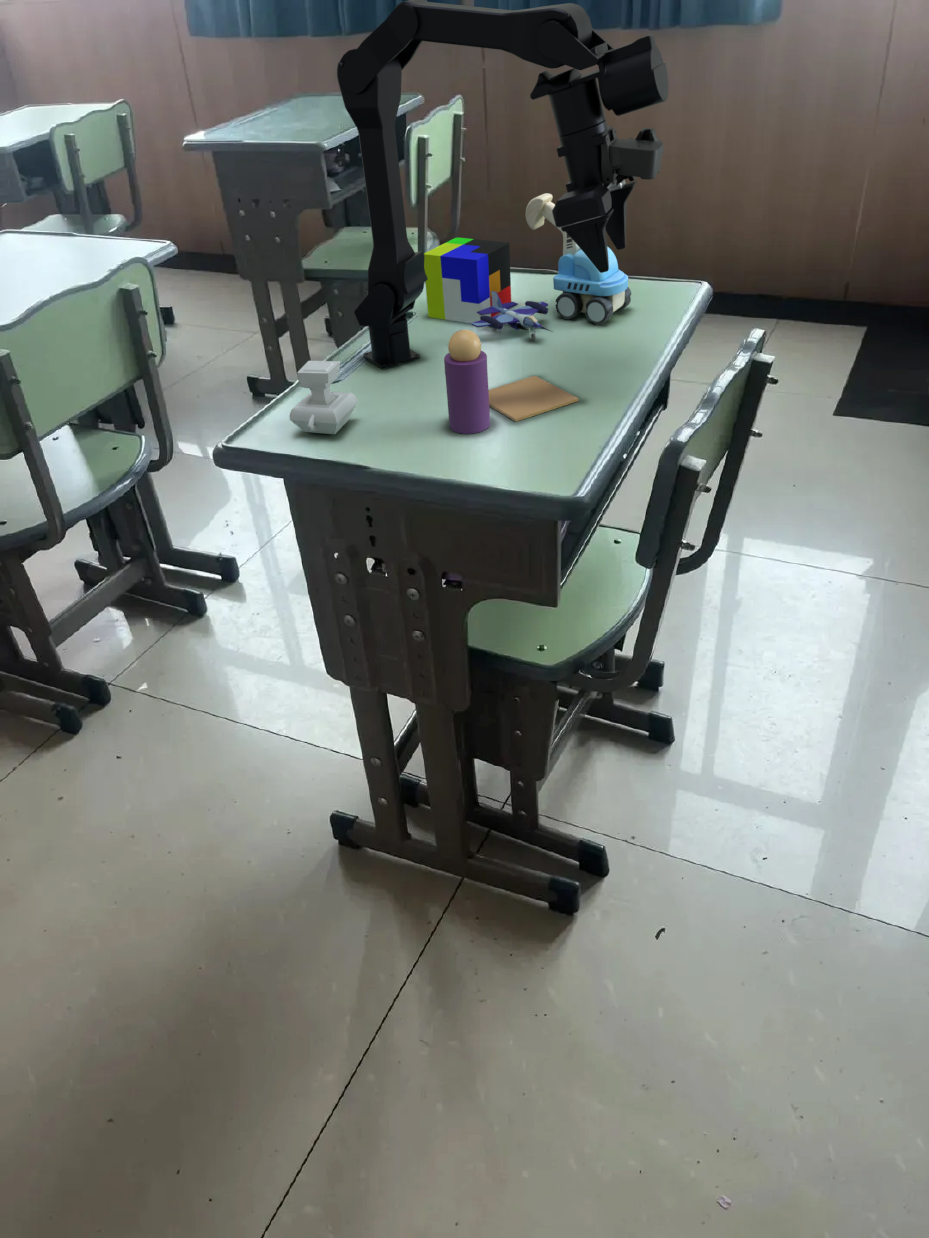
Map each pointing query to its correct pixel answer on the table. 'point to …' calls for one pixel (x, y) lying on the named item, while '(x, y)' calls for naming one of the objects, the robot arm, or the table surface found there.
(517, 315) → the toy airplane
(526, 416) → the cork coaster
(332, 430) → the stamp
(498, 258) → the puzzle toy
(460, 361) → the peg doll toy
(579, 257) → the toy excavator
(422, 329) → the table surface
